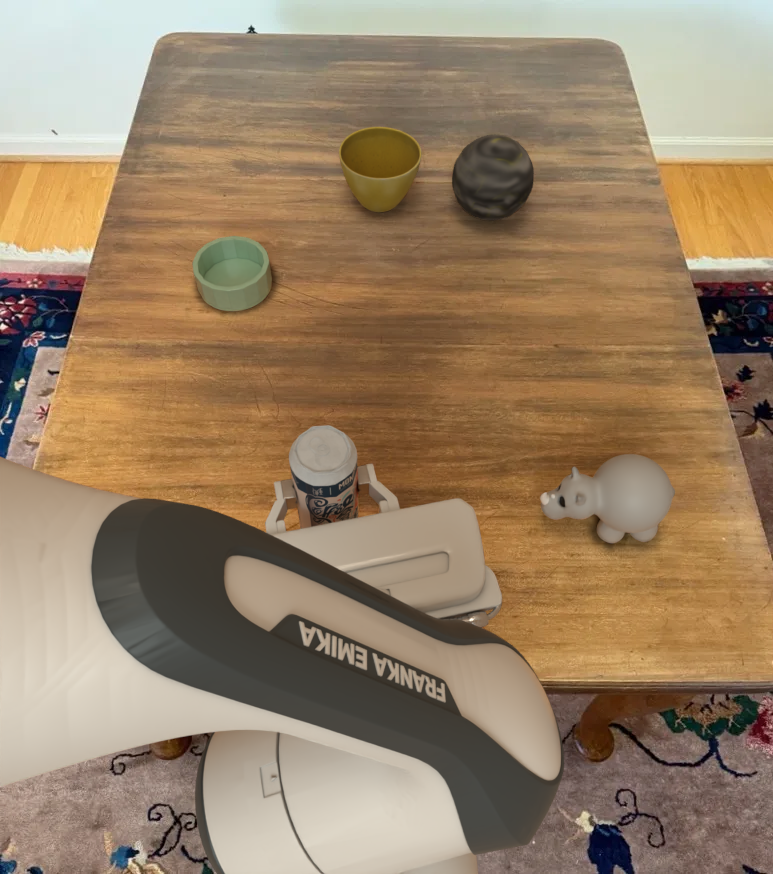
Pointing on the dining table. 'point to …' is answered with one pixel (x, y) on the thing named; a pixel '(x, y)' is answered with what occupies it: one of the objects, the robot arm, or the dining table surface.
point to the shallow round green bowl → (232, 273)
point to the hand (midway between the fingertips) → (323, 476)
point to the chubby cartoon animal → (615, 497)
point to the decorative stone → (492, 177)
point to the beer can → (324, 476)
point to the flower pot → (380, 166)
